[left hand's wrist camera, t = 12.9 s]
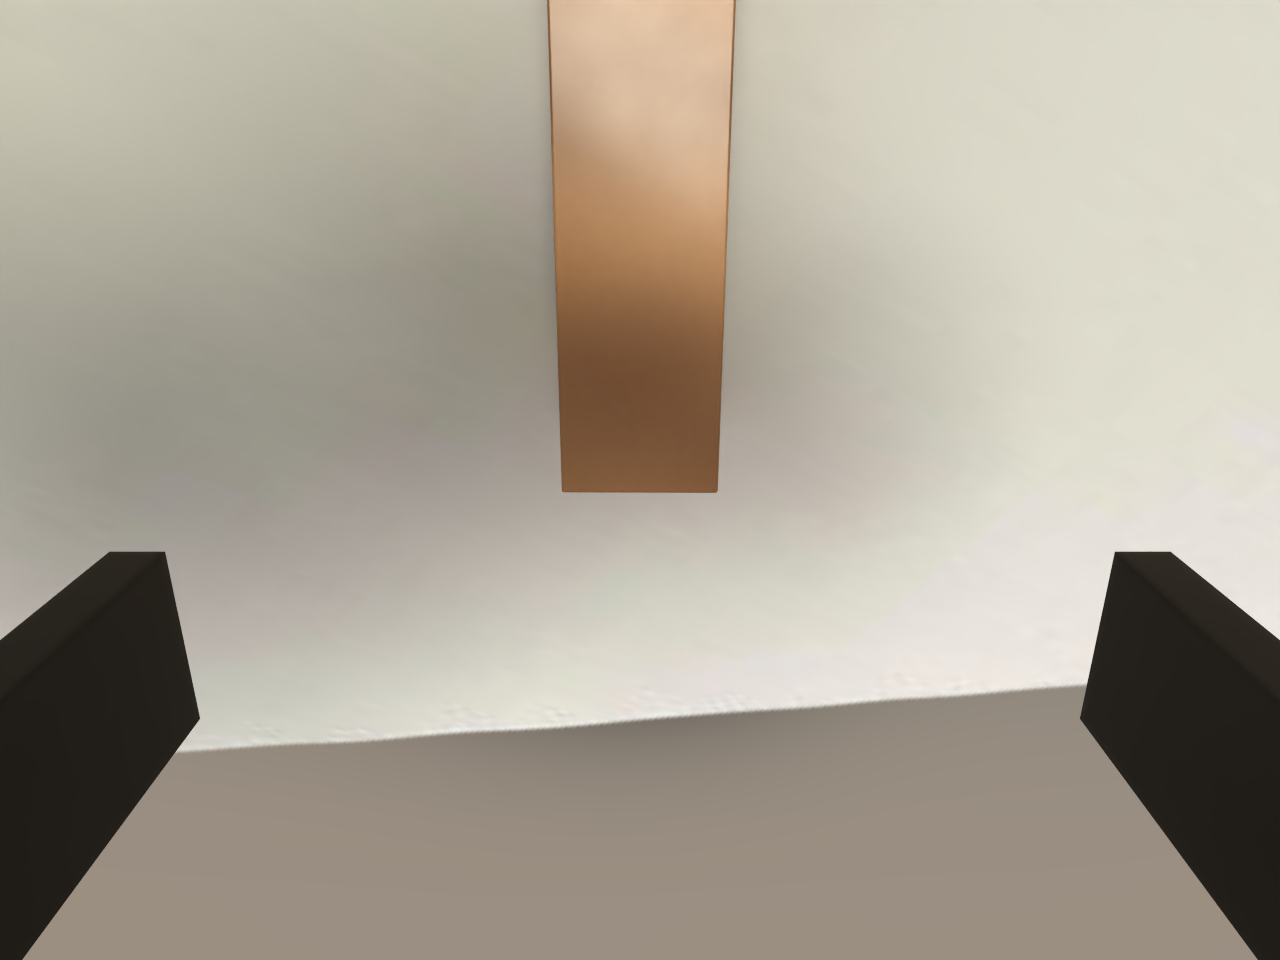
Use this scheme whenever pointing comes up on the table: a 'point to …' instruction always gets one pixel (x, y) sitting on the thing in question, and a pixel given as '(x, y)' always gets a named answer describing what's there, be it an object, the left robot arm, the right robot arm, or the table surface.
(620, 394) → the post
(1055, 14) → the table surface
